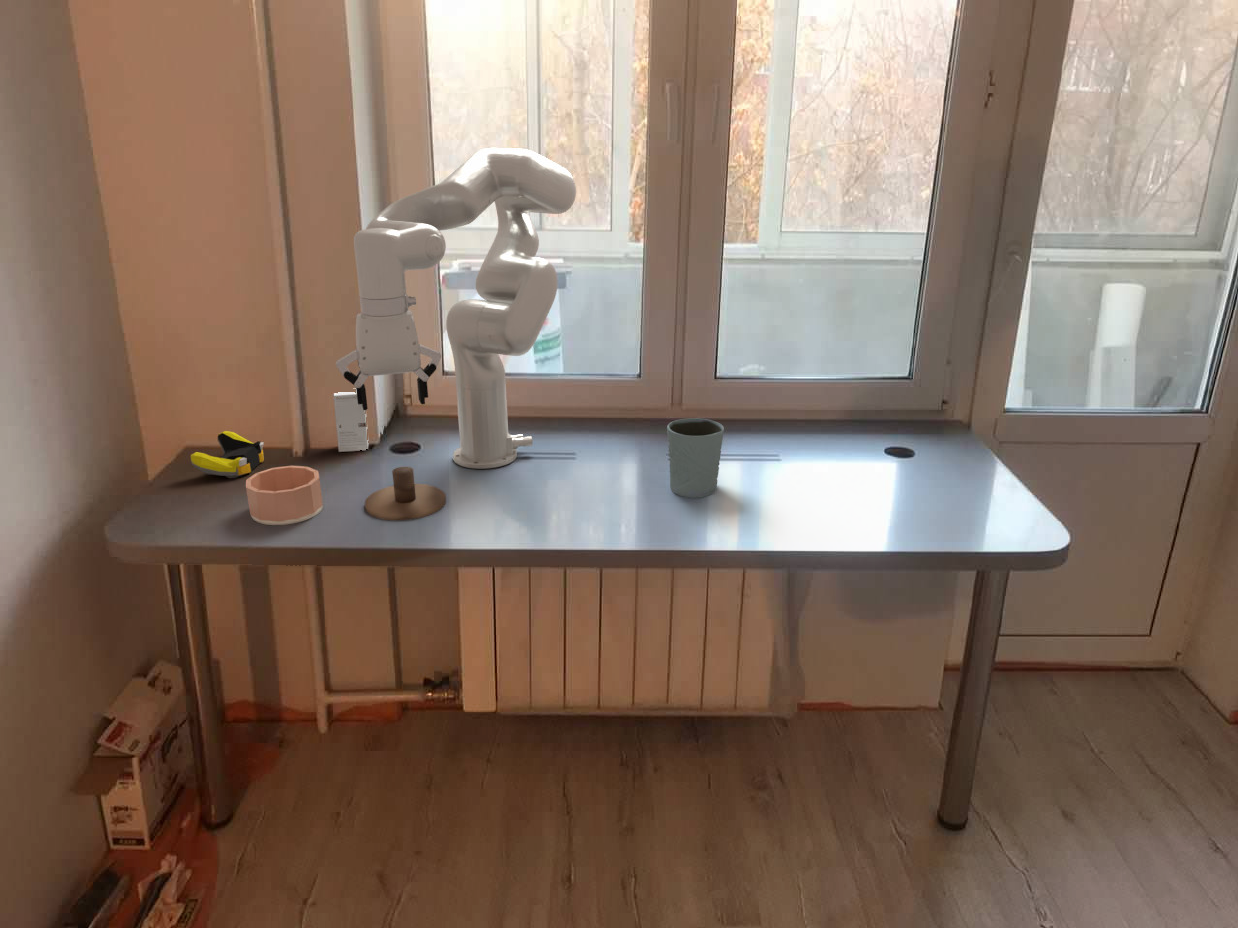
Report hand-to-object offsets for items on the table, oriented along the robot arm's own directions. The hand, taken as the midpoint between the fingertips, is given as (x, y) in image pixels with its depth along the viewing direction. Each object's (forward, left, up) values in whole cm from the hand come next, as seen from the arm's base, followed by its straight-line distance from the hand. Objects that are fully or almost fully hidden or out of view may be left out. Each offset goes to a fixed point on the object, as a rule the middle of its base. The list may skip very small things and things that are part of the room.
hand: (393, 404), depth 166 cm
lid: (0, 0, -19) cm, 19 cm away
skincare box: (+6, -32, -19) cm, 37 cm away
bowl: (+20, -4, -18) cm, 27 cm away
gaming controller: (+29, -28, -19) cm, 45 cm away
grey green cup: (-51, +11, -19) cm, 56 cm away
